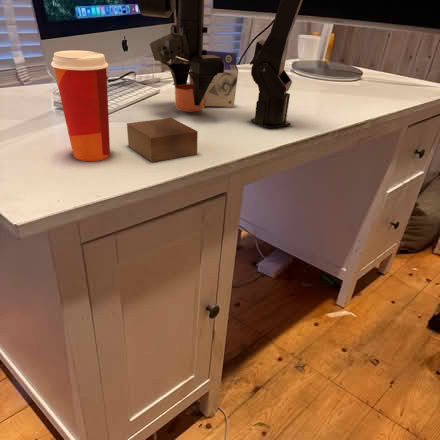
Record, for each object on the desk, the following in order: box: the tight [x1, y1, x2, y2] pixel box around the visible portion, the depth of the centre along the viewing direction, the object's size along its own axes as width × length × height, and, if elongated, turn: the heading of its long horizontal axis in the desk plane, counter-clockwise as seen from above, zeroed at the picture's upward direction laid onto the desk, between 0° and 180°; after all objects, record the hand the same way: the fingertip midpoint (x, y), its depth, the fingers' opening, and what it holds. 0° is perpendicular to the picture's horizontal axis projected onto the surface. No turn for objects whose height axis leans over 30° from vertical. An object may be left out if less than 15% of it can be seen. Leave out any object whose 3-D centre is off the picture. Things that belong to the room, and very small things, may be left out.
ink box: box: [188, 50, 239, 108], centre depth 98 cm, size 12×2×12 cm, turn 107°
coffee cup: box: [50, 49, 111, 162], centre depth 66 cm, size 8×8×15 cm
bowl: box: [174, 83, 206, 112], centre depth 94 cm, size 7×7×4 cm
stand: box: [126, 117, 199, 163], centre depth 73 cm, size 9×9×4 cm
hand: (188, 101), depth 94 cm, fingers closed on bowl, 7 cm apart
